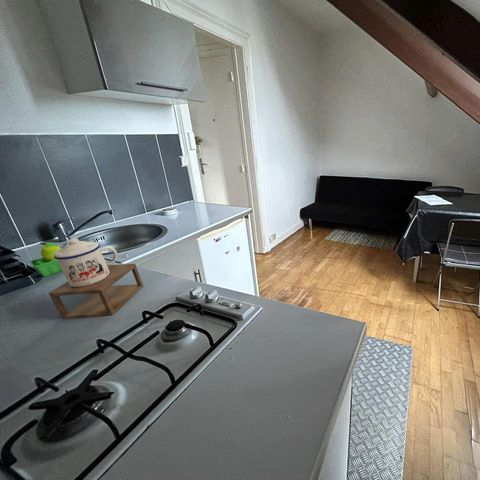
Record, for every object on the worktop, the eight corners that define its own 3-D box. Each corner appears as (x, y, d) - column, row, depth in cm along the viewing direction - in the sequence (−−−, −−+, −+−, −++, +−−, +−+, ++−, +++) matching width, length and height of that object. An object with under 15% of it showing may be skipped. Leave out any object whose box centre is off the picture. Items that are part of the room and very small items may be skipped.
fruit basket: (76, 261, 102) (63, 234, 97) (83, 266, 97) (70, 238, 92) (35, 274, 93) (19, 245, 89) (41, 280, 88) (24, 250, 84)
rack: (62, 318, 68) (48, 293, 65) (101, 288, 81) (91, 266, 78) (112, 315, 68) (100, 289, 65) (143, 286, 81) (135, 263, 78)
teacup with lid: (69, 292, 65) (48, 250, 60) (67, 279, 71) (48, 240, 66) (126, 273, 72) (111, 234, 68) (120, 263, 78) (105, 227, 74)
